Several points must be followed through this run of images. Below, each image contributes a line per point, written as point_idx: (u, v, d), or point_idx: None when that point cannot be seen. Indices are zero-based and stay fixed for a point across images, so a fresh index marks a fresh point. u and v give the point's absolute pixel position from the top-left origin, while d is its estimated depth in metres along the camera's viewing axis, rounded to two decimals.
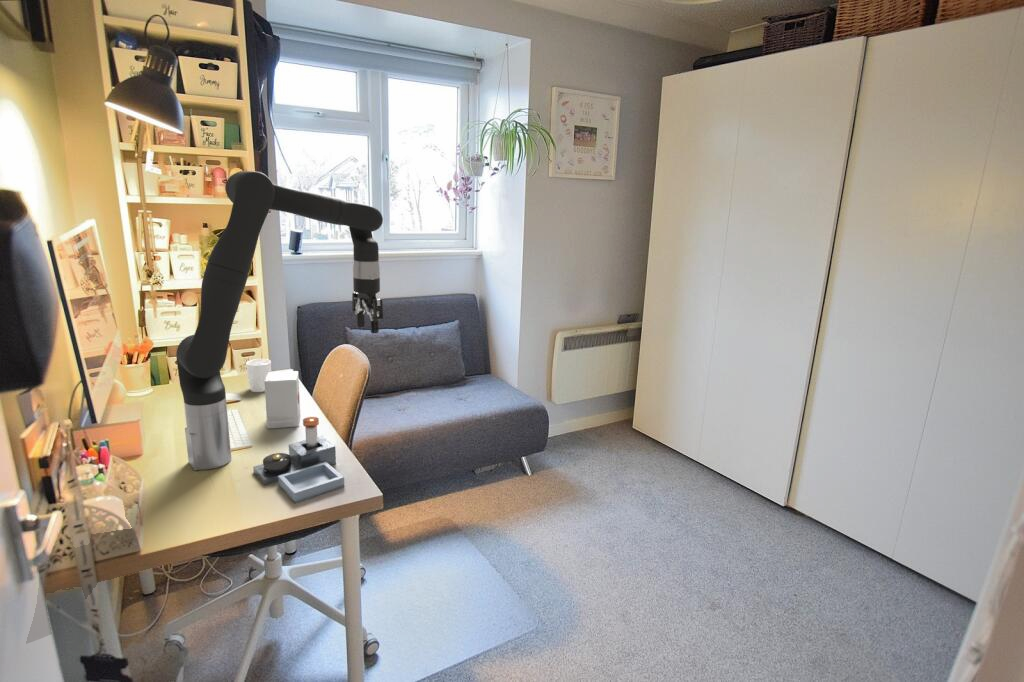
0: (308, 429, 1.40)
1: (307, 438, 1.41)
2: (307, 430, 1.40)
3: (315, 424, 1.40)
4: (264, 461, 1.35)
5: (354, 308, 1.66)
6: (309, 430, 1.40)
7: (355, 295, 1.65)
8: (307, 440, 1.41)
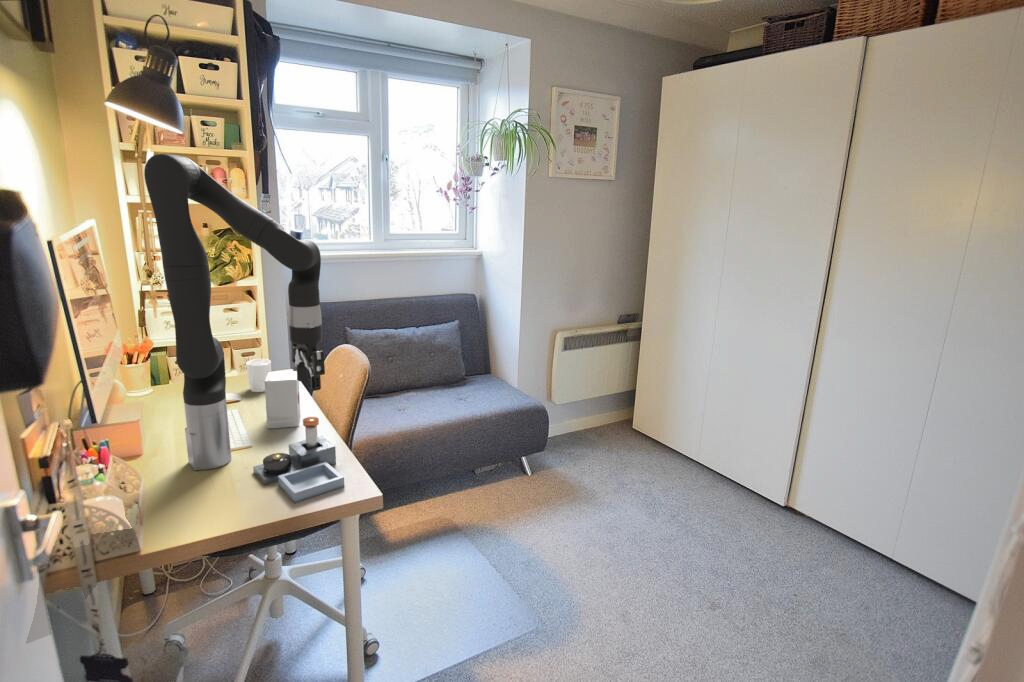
0: (308, 429, 1.40)
1: (307, 438, 1.41)
2: (307, 430, 1.40)
3: (315, 424, 1.40)
4: (264, 461, 1.35)
5: (294, 359, 1.40)
6: (309, 429, 1.40)
7: (294, 344, 1.39)
8: (307, 440, 1.41)
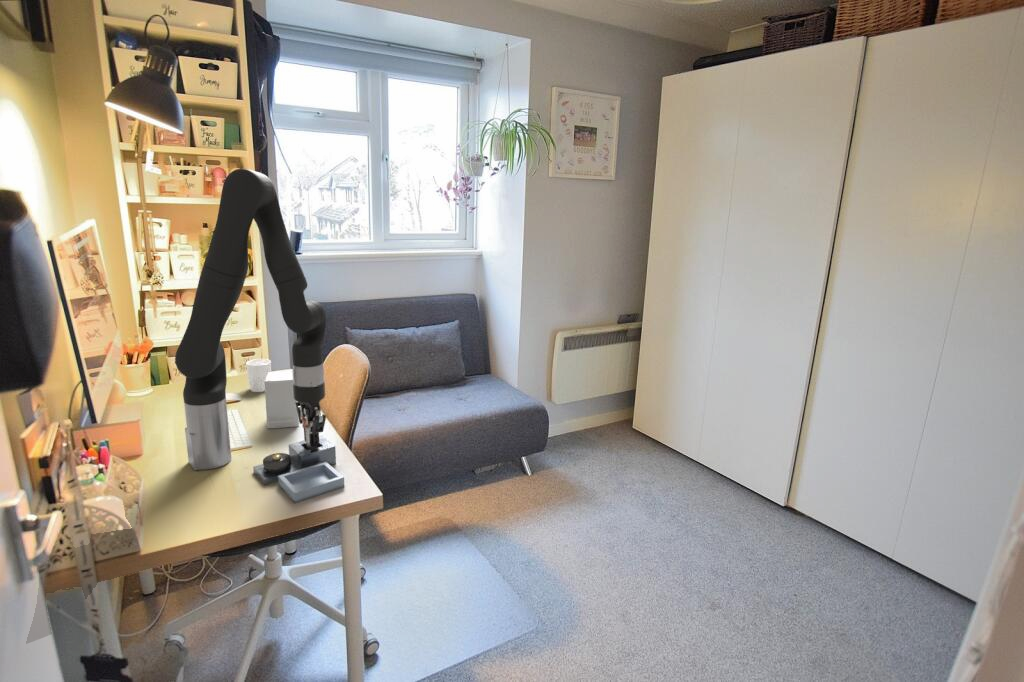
0: (308, 429, 1.40)
1: (307, 438, 1.41)
2: (307, 430, 1.40)
3: None
4: (264, 461, 1.35)
5: (301, 420, 1.43)
6: None
7: (298, 404, 1.43)
8: (307, 440, 1.41)
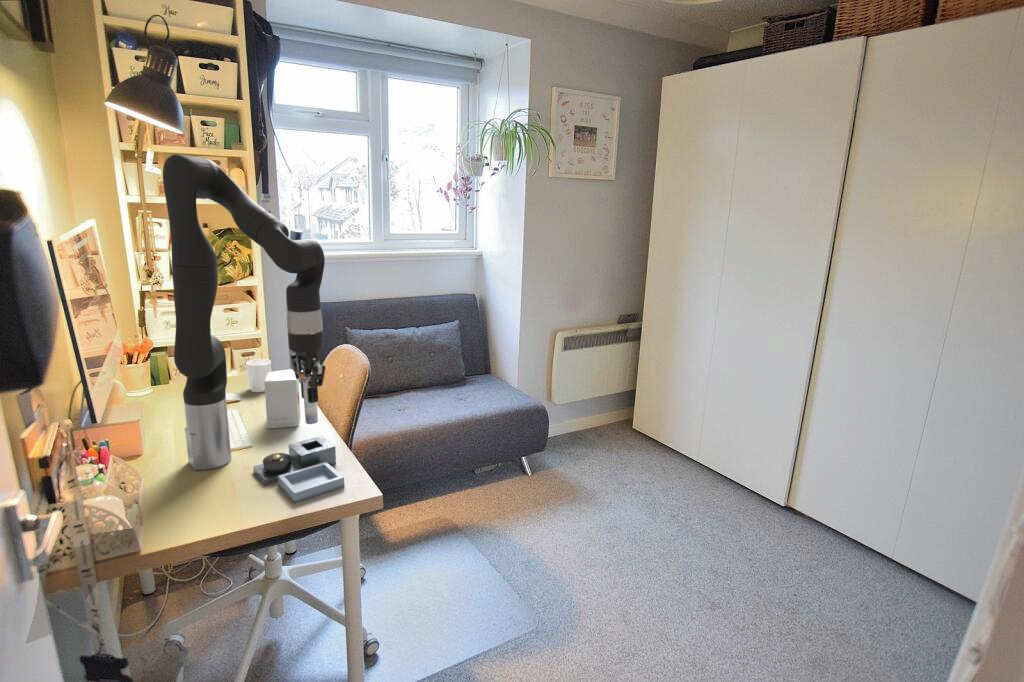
0: (306, 383, 1.27)
1: (305, 393, 1.27)
2: (305, 384, 1.27)
3: None
4: (264, 461, 1.35)
5: (297, 375, 1.29)
6: None
7: (294, 357, 1.30)
8: (305, 396, 1.28)
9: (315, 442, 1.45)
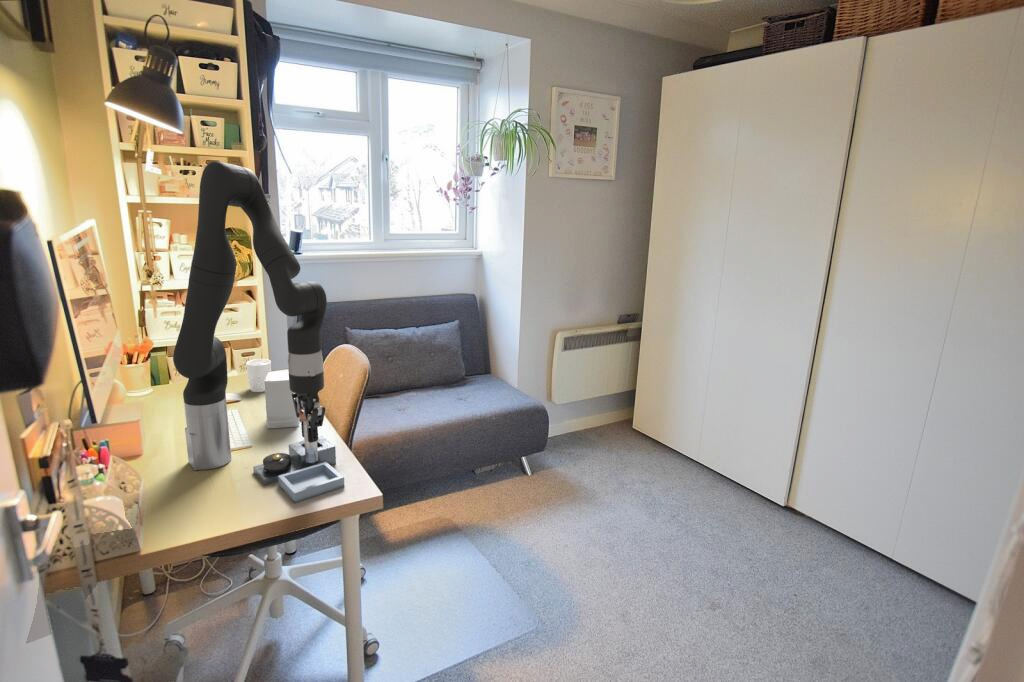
0: None
1: (305, 433, 1.28)
2: (305, 424, 1.28)
3: None
4: (264, 461, 1.35)
5: (298, 413, 1.30)
6: None
7: (295, 395, 1.31)
8: (305, 435, 1.28)
9: None
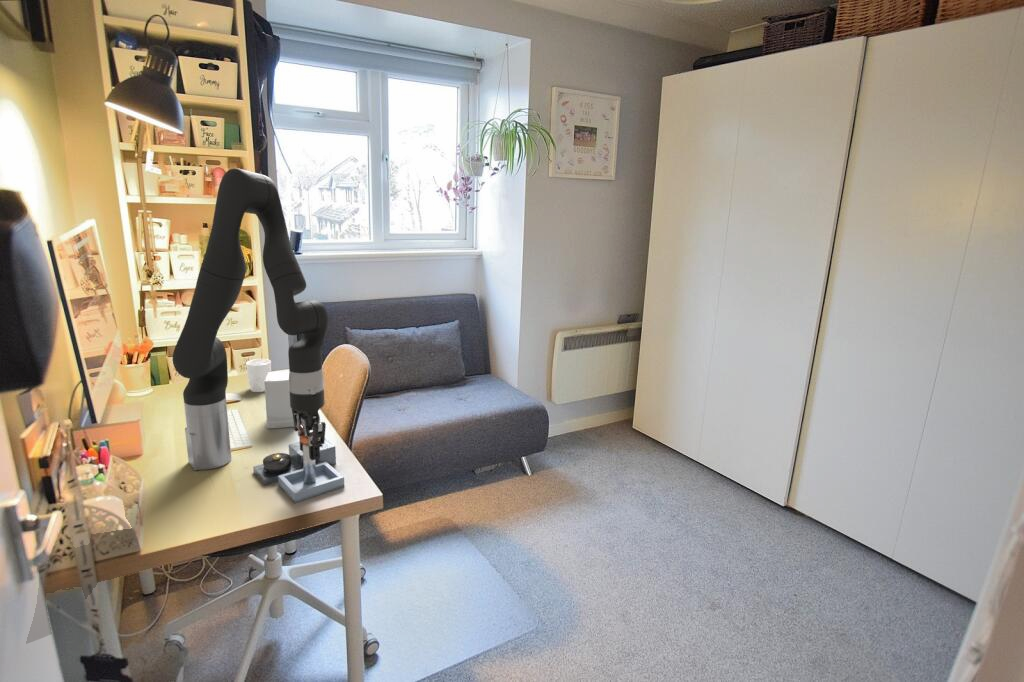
0: (306, 447, 1.29)
1: (304, 456, 1.30)
2: (304, 448, 1.29)
3: None
4: (264, 461, 1.35)
5: (296, 427, 1.32)
6: (307, 447, 1.29)
7: (295, 410, 1.31)
8: (304, 458, 1.30)
9: None
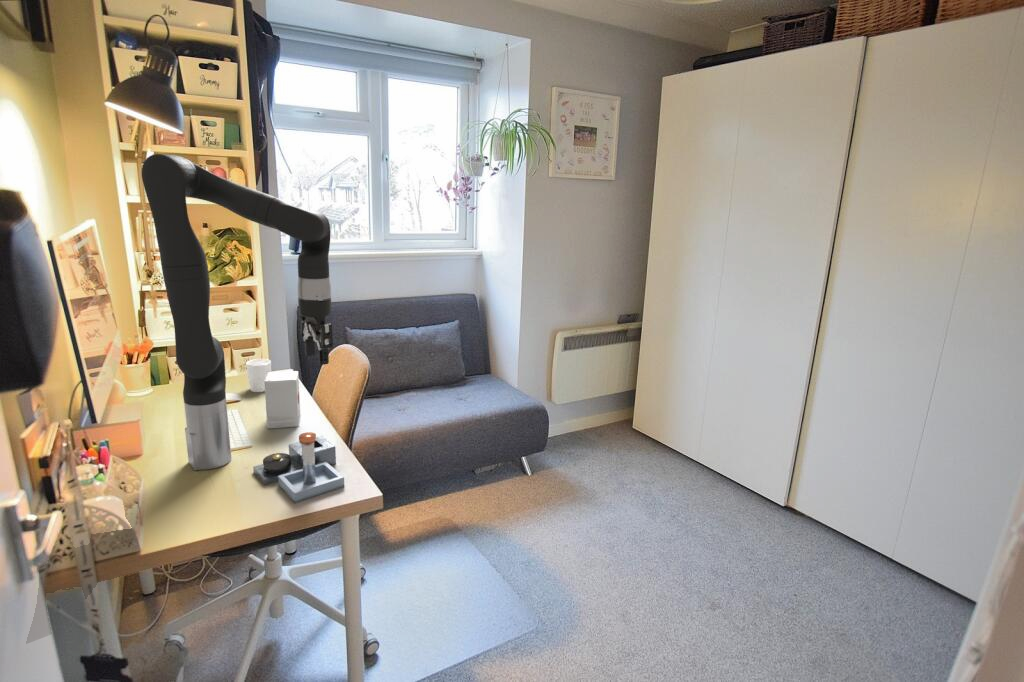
0: (305, 446, 1.30)
1: (303, 455, 1.30)
2: (303, 447, 1.30)
3: (312, 440, 1.30)
4: (264, 461, 1.35)
5: (302, 333, 1.39)
6: (306, 446, 1.30)
7: (303, 318, 1.38)
8: (303, 458, 1.31)
9: (315, 442, 1.45)
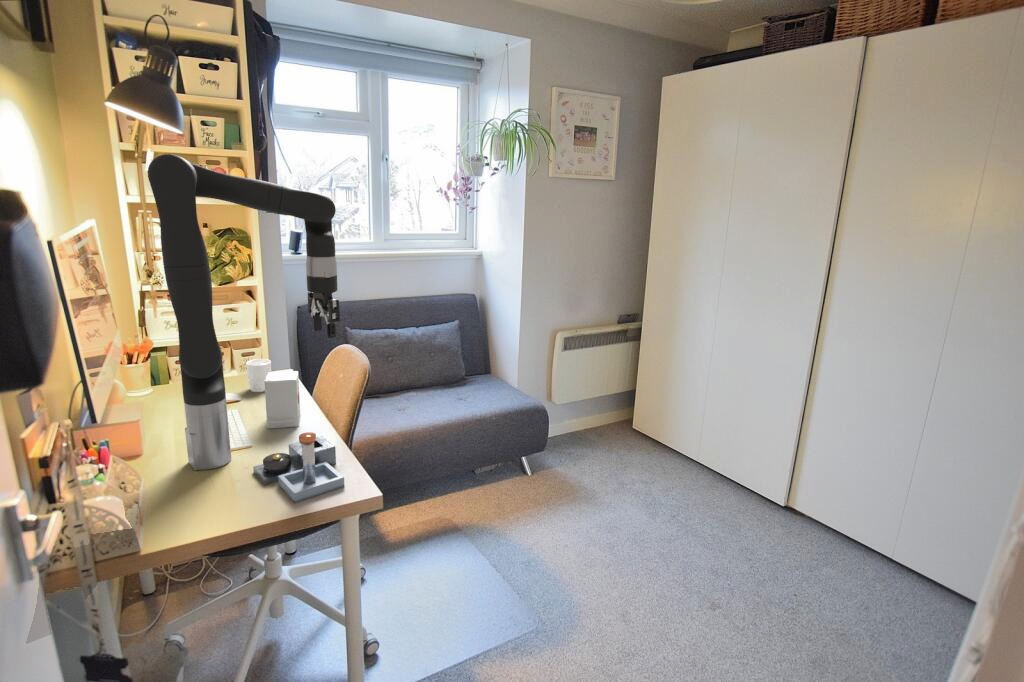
0: (305, 446, 1.30)
1: (303, 455, 1.30)
2: (303, 447, 1.30)
3: (312, 440, 1.30)
4: (264, 461, 1.35)
5: (310, 309, 1.49)
6: (306, 446, 1.30)
7: (311, 295, 1.47)
8: (303, 458, 1.31)
9: (315, 442, 1.45)
